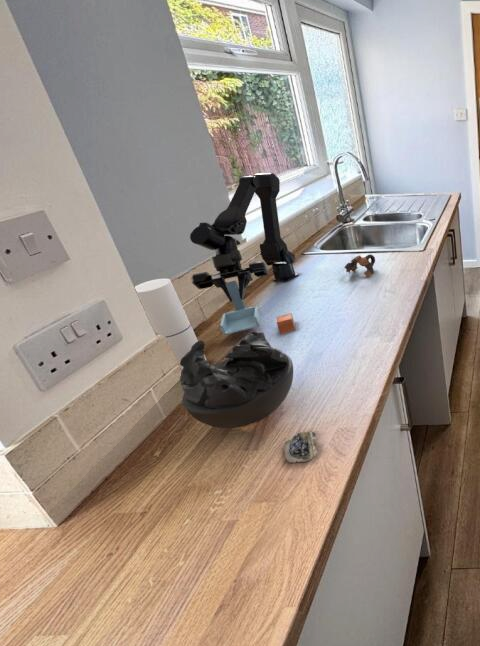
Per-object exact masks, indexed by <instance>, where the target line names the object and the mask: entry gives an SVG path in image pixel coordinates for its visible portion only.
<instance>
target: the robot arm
mask: <svg viewBox="0 0 480 646" xmlns="http://www.w3.org/2000/svg"><path fill="white" fill-rule="evenodd" d="M280 184H281V181H280V179H279V177H278V176H277V175H276V174H275V173H273V172H272V173H270V172H267V173H266V172H265V173H254V174H253V175H249V176H246V175H245V176H244V175H243V176H241V177H239V180H238V185H237V187H236V190H235V191H234V194H233V196H232V198H231V200H230V202H229V204H228V206H227V208H225V209H224V210H223V211H221V212H220V213H219V214H218V216H217V217H216V218H215V219H214V221H213V223H212V224H211V223H208V222H199V224H198V226H196V227H195V228H194V229H193V230H192V231H191V233H190V235H189V239H190V241H191V242H192V243H193V244H194V245H197V246H200V247H202V248H205V249H207V250H209V251H214V252H215V256H212V257H211V260H212V264H213V268H215V271H216V272H217V273H216V272H215V273H212V274H210V273H209V272H208V271H204V272H203V271H202V272H198V273H193V274H192V275H191V278H190V279H191V283H192V284H193V286H195V287H196V288H197V289H198V290H203V289H209V288H212V287H213V286H215V287H216V288H217V289H222V292H223V293H224V294H225V296H226V297H227V299H228V300H229V302H230V303H233V302H232V299H231V296H230V294H229V291H228V289H227V286H226V283H227V281H226V280H228V279H232V278H237V281H238V288H239V294H240V298H241V300H242V299H243V300H244V297H245V294H246V291H247V288H248V286H249V284H250V282H252V281H254V278H253V277H252V274H253V275H254V276H255V277H257V278H260V277H265V276H268V275H269V270H268V266H271V268H272V273H273V277H274V278H272V280H273V281H277V282H288V281H290V280H291V279H293V278H295V277H298V276H299V273H297V272H296V271H295V268H294V265H293V264H294V263H295V261H296V254H294V253H292V252H291V251H290V250H288V249H289V248H288V245H287V243H286V242H285V241H284V240H283V239H282V237H281V236H282V235H281V228H280V221H279V214H278V213H279V212H278V206H277V198H278V197H277V196H278V195H279V193H280V191H281V190H280V189H281V188H280ZM254 195H256V196H257V197H258V199H259V202H260V209H261V210H260V211H261V217H262V225H263V234H264V240H263V243H260V244H259V250H260V253H259V255H260V256H261V258H262V260H257V261H254V262H249V263H248V267H244V268H242V264H241V263H242V262H241V261H243V257H242V254H241V252H240V249H238V246H239V245H241V242H240V240H238V239H237V238H235V237H233V236H239V235H243V234H244V232H245V230H246V227H247V222H248V220H247V218H246V213H247V211H248V209H249V207H250V204H251V202H252V200H253V197H254Z"/></svg>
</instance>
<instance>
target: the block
mask: <svg viewBox="0 0 480 646" xmlns="http://www.w3.org/2000/svg"><path fill="white" fill-rule="evenodd" d="M276 325H277V328H278V331H279V334H280V335H282V334H286V333H290V332H293V331H296V323H295V320H294V317H293V314H292V312H288V313H285V314H281V315H276Z"/></svg>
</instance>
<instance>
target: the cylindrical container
mask: <svg viewBox="0 0 480 646" xmlns="http://www.w3.org/2000/svg"><path fill="white" fill-rule="evenodd" d="M134 287H135V289H136V291H137V294H138V296H139V298H140V300H141V302H142V305H143V307H144V309H145V312H146V314H147V316H148V318H149V321H150V323H151V325H152V327H153V329H154V330H155V332H156V333H158V334H161V335H164V336H165V337H166V338H167V339H168V341H169V343H170V346H171V349H172V352H173V353H174V355H175V357H176V359H177V361H178V364H179V366H180V368H181V370H182V369H183V366H181V365H180V361H181V359H182V357H184V356H185V355H186V353H188V352H189V351H190V350H191V347H192V346H193V345H194V344H195V343H196V342H198V341H199V340H198V337H197V336H196V333H195V331H194V329H193V327H192V324H191V322H190V320H189V318H188V315H187V313H186V311H185V309H184V306H183V305H182V303H181V300H180V298H179V296H178V293H177V292H176V289H175V287H174V285H173V283H172V280H171V279H170V278H165V277H164V278H156V279H151V280H147V281H144V282H141V283H139V284H137V285H135V286H134ZM204 357H205V359H206V360H207V358H206V355H205V354H204ZM208 365H210V364H209V363H208Z"/></svg>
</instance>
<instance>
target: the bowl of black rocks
mask: <svg viewBox="0 0 480 646" xmlns="http://www.w3.org/2000/svg"><path fill="white" fill-rule="evenodd" d="M205 346H206V343H205V340H198V342H196V343H195V344H194V345H193V346H192V347H191V350H190V351H189V352H188V353H186V355H185V356H184V357H182V359H181V361H180V365H181V366H183V369H182V371H181V376H180V379H179V381H180V386H181V388H182V390H183V395H182V406H183V407H184V409H185V410H186V411H187V412H188V414H189V415H190V416H191V417H192V418H194V419H195V420H196V421H198V422H200V423H202V424H204V425H206V426H209V427H213V428H218V429H238V428H239V429H240V428H244V427H249V426H251V425H253V424H256V423H258V422H260V421H262V420H264V419H266V418H267V417H269V416H270V415H272V414H273V413H274V412H275V411H276V410H277V409H278V408H279V407H280V406H281V405H282V404H283V402H284V401H285V399H286V398H287V396H288V394H289V392H290V390H291V388H292V384H293V381H294V365H293V360H292V358H291V357H290V356H289V355H288V354H287V353H285V352H283V351H282V350H280V349H277V348H276V347H275V348H274V347H273V346H271V344H270V343H269V342H268V339H266V336H265V333H264V332H263V331H251V332H250V333H248V334H247V335H245V336H244V337H243V338H242V339H241V340H240V341H239V344H236V345H234V346H233V347H232V348H231V349H232V350H231V351H230V352H228V353H227V354H226V355H224V358H225V360H223V361H221V362H219V363H217V364H214V365H211V364H209V362H208V360H207V358H206V359H205V357H206V356H205V357H204V355H205V353H204V349H205ZM208 364H209V365H208Z"/></svg>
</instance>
